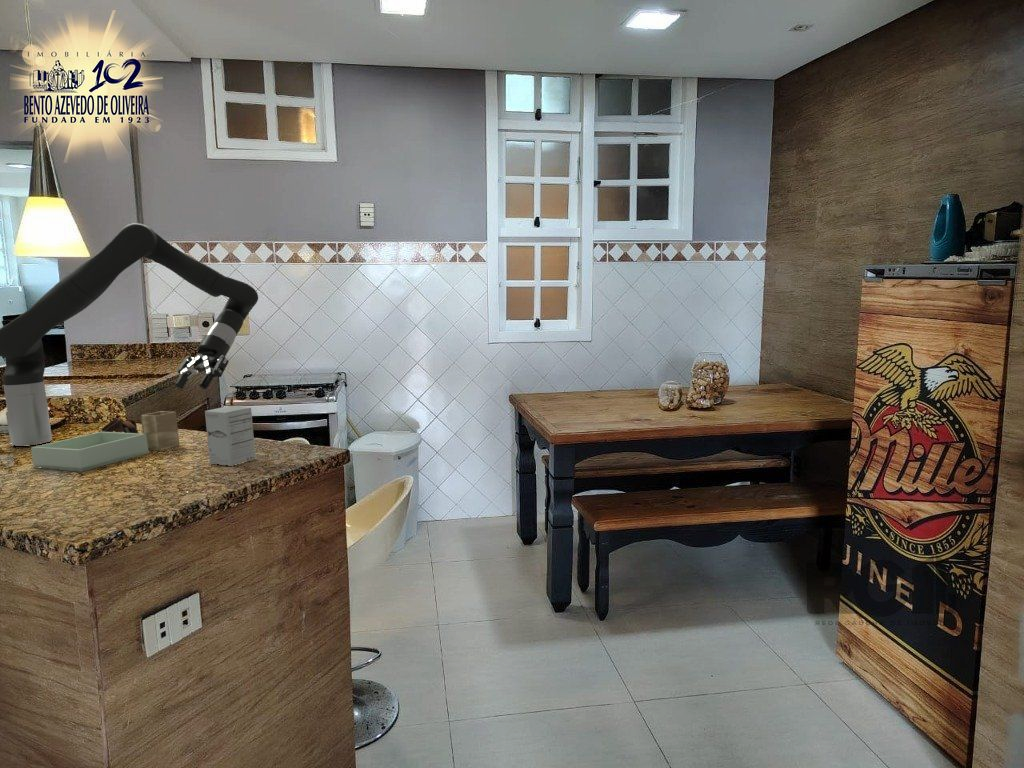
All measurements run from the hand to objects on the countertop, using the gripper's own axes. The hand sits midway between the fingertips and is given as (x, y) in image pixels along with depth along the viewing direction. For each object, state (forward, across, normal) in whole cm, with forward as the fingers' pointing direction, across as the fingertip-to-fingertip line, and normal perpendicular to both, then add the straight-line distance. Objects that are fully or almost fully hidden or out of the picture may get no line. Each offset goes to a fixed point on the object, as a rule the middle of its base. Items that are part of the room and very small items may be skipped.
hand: (190, 387), depth 187 cm
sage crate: (+28, -6, -8) cm, 30 cm away
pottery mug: (+17, -16, +4) cm, 24 cm away
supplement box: (+24, +32, -4) cm, 40 cm away
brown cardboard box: (+18, 0, +2) cm, 18 cm away
